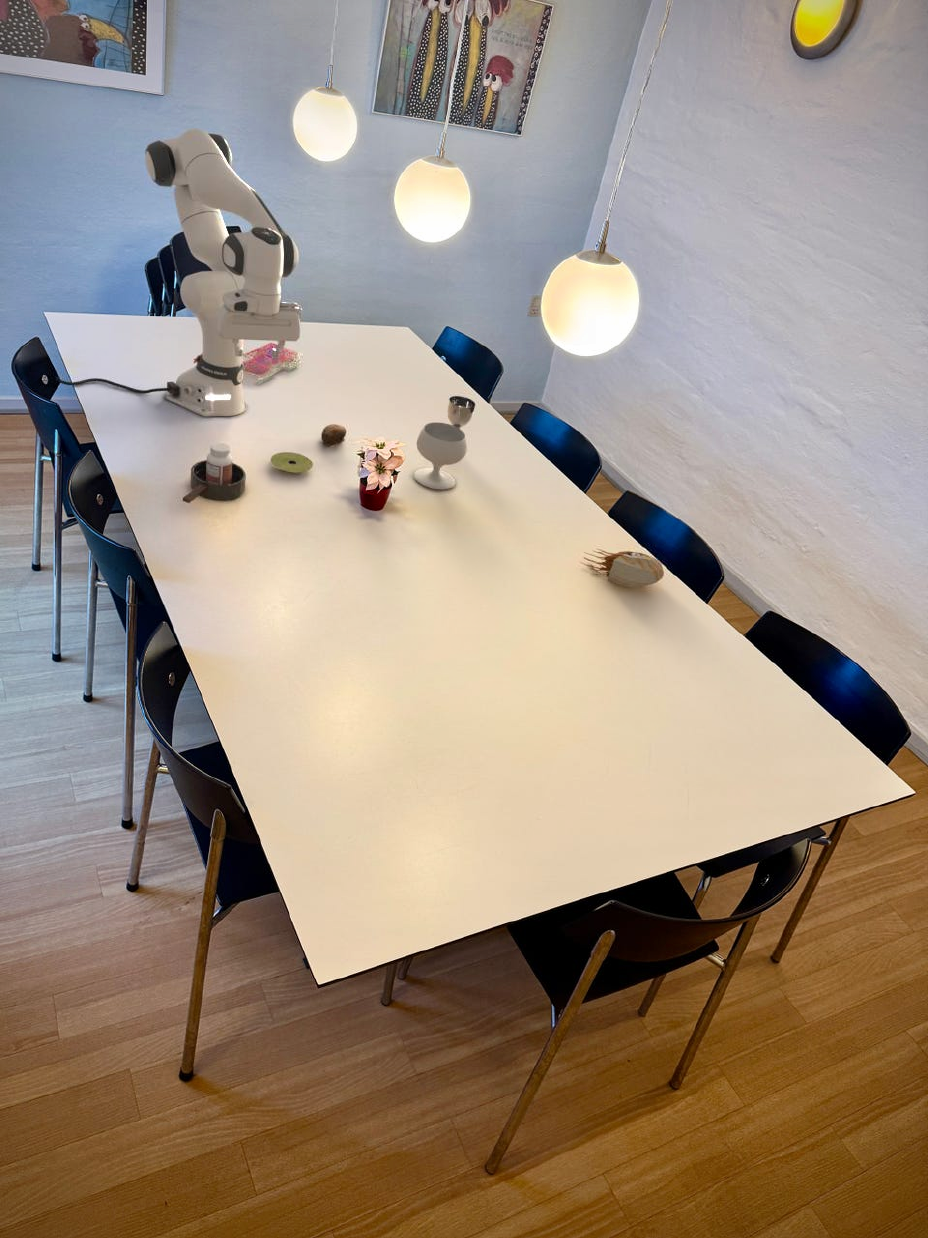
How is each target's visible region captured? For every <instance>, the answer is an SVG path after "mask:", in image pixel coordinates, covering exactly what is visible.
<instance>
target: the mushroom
mask: <svg viewBox="0 0 928 1238" xmlns="http://www.w3.org/2000/svg"><path fill="white" fill-rule="evenodd" d="M346 435H347V429H346V427H345V426H344V425H341V424H336V423H331V424H328V425H326V426H325V427H324V428H323V429H322V430H321V439H320V440H321V441H322V443H323V444H324V445H325V446H327V447H334V446H337V445H340V444H342V443H344V442H345V441H346Z"/></svg>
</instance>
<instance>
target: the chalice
mask: <svg viewBox="0 0 928 1238" xmlns="http://www.w3.org/2000/svg"><path fill="white" fill-rule="evenodd" d="M467 443H468V442H467V437H466V433H465V432H464V431H463V430H462V429H461V428H460V429H459V428H457V427H455V426H453V425H452V424H451V423H450V424H449V423H447V422H446V423H445V422H436V421H435V422H429V423H427V424H425V425H424V426H423V427H422V429H421V430H420V432H419V434H418V436H417V439H416V449H417V451H418V452H419V454H420V456H422V457H423V458H424V459H425V460H427V461H429V462H430V463H431V465H432V467H422V468H419V469H416V470H415V471H414V473H413V479H414V480H415V481H416V482H417V483H419V484H420V485H422V486H424V487H426V488H430V489H433V490H449V489H452V488H454V486H455V485H456V480H455V478H454V477H453V475H452V474H450V473H449V472H447V471H445V470H442V467H444V466H448V465H454V464H457V463H459V462H461V461H462V460H463V459H464V457H465V456H466V454H467V448H468V444H467Z"/></svg>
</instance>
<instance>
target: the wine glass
mask: <svg viewBox="0 0 928 1238" xmlns="http://www.w3.org/2000/svg"><path fill="white" fill-rule="evenodd" d="M475 408H476V402H475V401H473V400H472V399H471V398H468V397H465V396H460V395H453V396H450V397H449V398H448V403H447V418H448V421H449V422H450V425H453V426H455V427H457V428H459V429H460V430H461V429H462V428H463V427H464V426H466V425H468V424H469V423H470V421H471V419H472V417H473V415H474V413H475Z"/></svg>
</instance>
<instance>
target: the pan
mask: <svg viewBox="0 0 928 1238" xmlns="http://www.w3.org/2000/svg"><path fill="white" fill-rule="evenodd" d="M206 463H207V459H205V460H200V461H198V462H196V463H194V465H192V466H191V468H190V488H191V491H192V490H194V489H195V488H196V487H198V486H199V485H200V484H201V483H202V484H205V485H208V489H207V490H206V491H204V492H203V493H202V494H201V495H199V496H198V497H201V498H204V499H206V500H209V501H215V502H216V501H217V502H227V501H233V500H236V499H238V498H240V497H241V496H243V494H244V493H245V490H246V482H247V481H246V480H247V479H246V478H247V473H246V470H245V469H243V467H241V466H240V465H238V464H236V463H234V462H232V478H231V484H227V485H219V484H212V483H208V482H206Z"/></svg>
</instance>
